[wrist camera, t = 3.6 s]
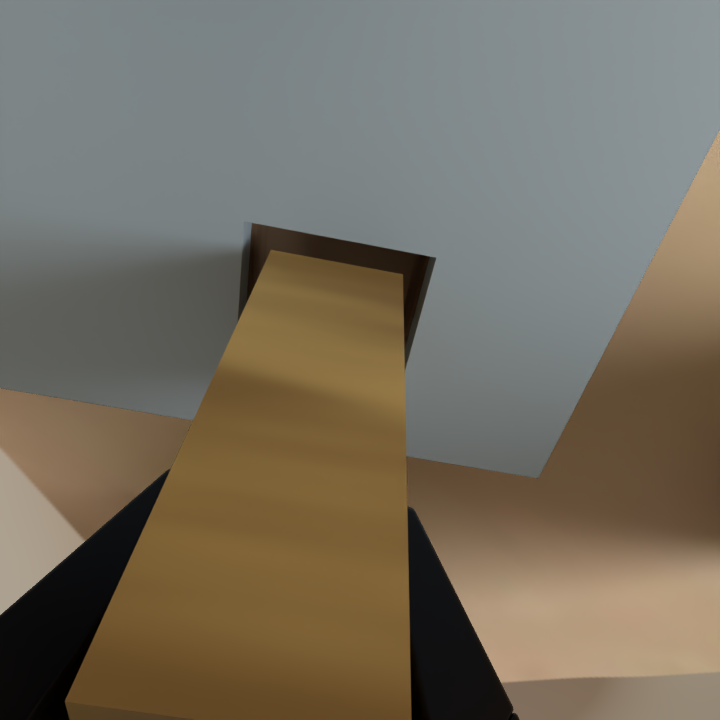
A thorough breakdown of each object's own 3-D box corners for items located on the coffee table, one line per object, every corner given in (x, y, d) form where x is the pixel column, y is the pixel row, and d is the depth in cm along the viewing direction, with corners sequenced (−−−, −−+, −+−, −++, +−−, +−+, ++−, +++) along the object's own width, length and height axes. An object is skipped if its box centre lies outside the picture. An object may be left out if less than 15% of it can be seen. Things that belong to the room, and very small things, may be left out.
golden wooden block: (377, 378, 15) (353, 852, 7) (261, 358, 15) (96, 820, 7) (403, 274, 13) (411, 748, 5) (271, 249, 13) (64, 700, 5)
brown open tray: (509, 382, 21) (527, 447, 18) (-38, 286, 20) (-112, 338, 17) (755, -209, 12) (872, -270, 9) (-230, -450, 11) (-461, -610, 8)
